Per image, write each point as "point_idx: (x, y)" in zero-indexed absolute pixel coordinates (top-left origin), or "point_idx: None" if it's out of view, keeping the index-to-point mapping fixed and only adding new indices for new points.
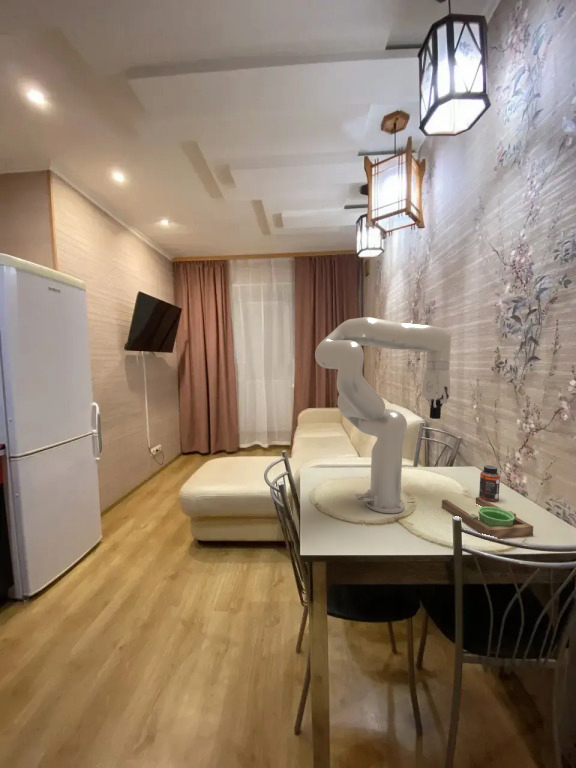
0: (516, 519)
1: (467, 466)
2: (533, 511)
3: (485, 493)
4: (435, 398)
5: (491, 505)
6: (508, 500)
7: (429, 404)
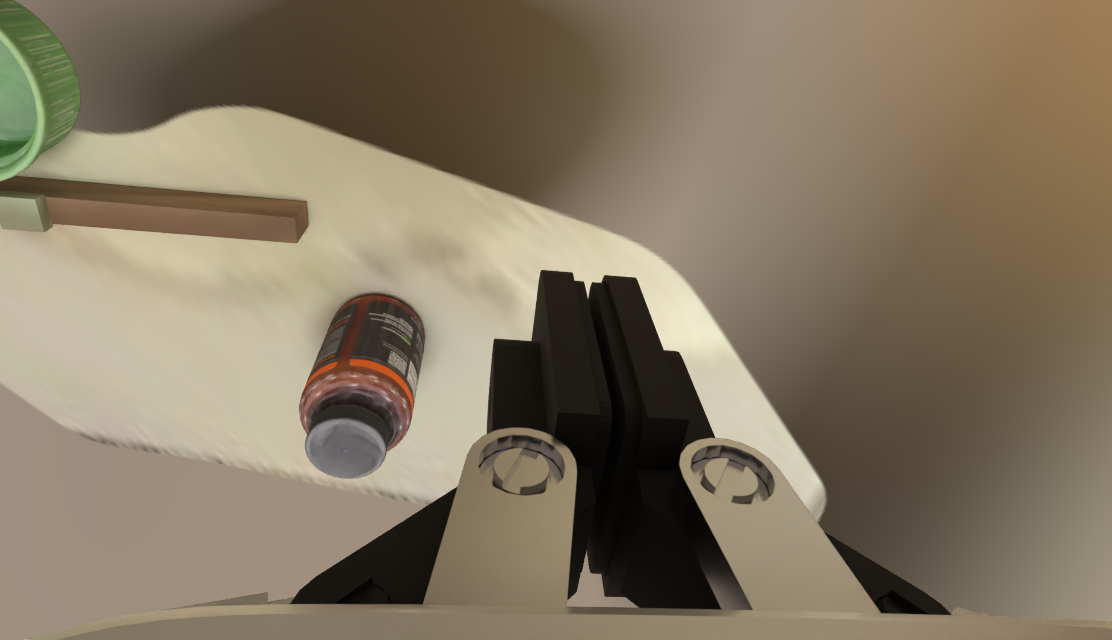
0: None
1: None
2: (209, 405)
3: (348, 315)
4: (69, 633)
5: (170, 214)
6: None
7: (782, 487)
